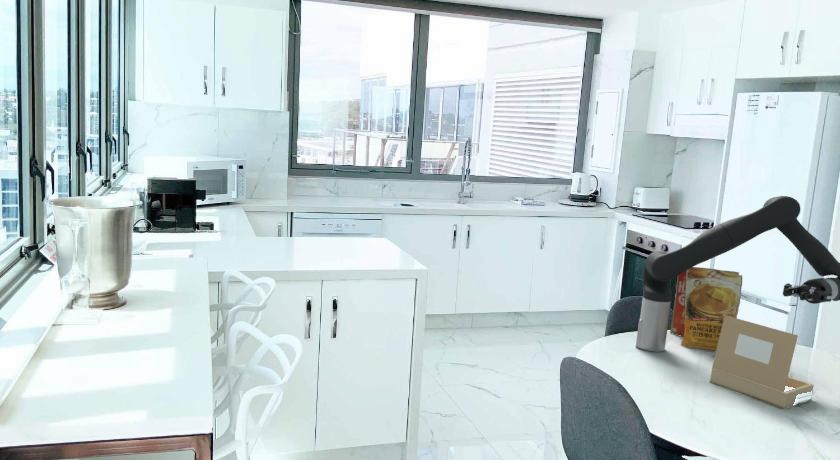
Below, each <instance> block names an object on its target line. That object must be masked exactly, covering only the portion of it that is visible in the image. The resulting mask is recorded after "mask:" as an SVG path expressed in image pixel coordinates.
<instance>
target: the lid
mask: <svg viewBox="0 0 840 460" xmlns="http://www.w3.org/2000/svg"><path fill="white" fill-rule="evenodd" d="M798 338H799V335H798V334H794V333H790V332H787V331H784V330H779V329H776V328H773V327H769V326H765V325H762V324H758V323H754V322H750V321H747V320H744V319H741V318H738V317H737V318H734V317H730V316H726V315H725V316H724V320H723V325H722V329H721V333H720V337H719V341H718V345H717V349H716V352H715V355H714V358H713V361H712V366H711V369H712V368H715V369H718V370H720V371H723V372H726V373H729V374H732V375H735V376H738V377H741V378H743V379H746V380H749V381H752V382H755V383H758V384H761V385H764V386H767V387H769V388H772V389H775V390H778V391H781V392H784V390H785V386H786V382H787V378H788V376H789V374H790V370H791V365H792V361H793V357H794V354H795V348H796V345H797V340H798Z"/></svg>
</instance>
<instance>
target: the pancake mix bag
mask: <svg viewBox="0 0 840 460" xmlns="http://www.w3.org/2000/svg"><path fill="white" fill-rule="evenodd" d="M742 286H743V275H742V274H740V272H739V271H732V270H722V269H718V268H717V269H716V268H708V267H700V266H699V267H697V266H694V267H692V268H690V269H688V270H687V271H686V292H685V307H686V312H685V322H684V323H685V331H684V337H683V336H682V340H681V343H680V346H684V347H687V348H688V349H689V348H691V349H695V350H702V351H709V352H715V353H716V349H717V345H718V341H719V337H720V332H721V326H722V325H723V320H724V316H725V315H726V316H730V317H734V318H737V319H738V315H739V314H738V313H739V309H740V308H739V307H740V304H741V295H742Z"/></svg>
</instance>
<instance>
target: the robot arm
mask: <svg viewBox="0 0 840 460" xmlns="http://www.w3.org/2000/svg"><path fill="white" fill-rule="evenodd" d="M800 213H801V204H800V203H799V201H798V200H797V199H795V198H794V197H793V196H787V195H779V196H774V197H771V198H769V199H767V200H765V202H764V204H763V205H762V207H761V208H759V209H757V210H756V211H753V212H750V213H747V214H745V215H741V216H738V217H734V218H731V219H729V220H726V221H723V222H720V223H718V224H717V225H714V226H712V227H711V228H708V229H706V230H705V231H703V232H702V233H701V234H700V235H698V236H696V237H695V238H694V239H693V240H692V241H691V242H690V243H688V244H686V245H685V246H683V247H681V248H679V249H676V250H673V251H670V252H668V253H667V252H666V251H662V250H656V251H652V252H651V253H649V255H648V256H647V258H646V259H645V263H644V268H643V269H644V270H643V278H642V291H643V292H642V299H641V300H642V301H641V309H640V315H639V321H638V325H637V335H636V341H635V348H639V349H642V350H643V351H644V350H645V351H649V352H655V353H656V352H658V353H659V352H660V353H661V352H665V350H666V343H667V336H668V335H667V334H668V330H669V329H668V327H669V319H670V314H671V306H672V298H673V291H672V288H671V281H672V280H673V279H675V278H677V277H678V275H680V274H682V273H683V272H685V271H687V270H688V269H690V268H692V267H696V266H697V265H700V264H702V263H705V262H707V261H709V260H711V259H714V258H716V257H718V256H721V255H724V254H725V253H727V252H729V251H731V250H733V249H736V248H738V247H739V246H742V245H744V244H745V243H747V242H749V241H752V240H753V239H754V238H756V237H758V236H759V235H762V234H764V233H765V232H768V231H771V230H773V229H777V230H778V231H779V232H780V233H782V234H783V236H785V238H786V239H788V241H790V243H791V244H792V245H793V246H794V247H795V248H796V250H797V251H798V252H799V253H800V254H801V255H802V256H803V258H804V259H805V260H806V262H807V263H808V264H809V265H810V266H811V267H812V268H813V270H814V271H815V272H816V274H818V276H820V277H819V278H811V279H807V280H806V281H804V282H803V283H802V284H801V285H800V284H799V285H794V286H793V285H792V284H791V283H786V284H784V285H783V291H782V295H783V297H786V298H787V297H795V298H799V301H806V302H808V303H809V304H816V305H818V304H822V303H826V302H827V303H830V302H832V301H834V302H838V301H840V262H839V261H838V260H837V258H835V256H834V255H833V254H832V253H831V252H830V250H829V249H828V248H827V246H825V244H823V243H822V242H821V241H820V240H819V239H817V238H816V237H815V236H814V235H812V233H811V232H809V231H808V230H807V228H805V227H804V226H803V224H802V223H800V221H799V219H798V217H799V215H800ZM827 276H836V277H827Z"/></svg>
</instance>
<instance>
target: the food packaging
mask: <svg viewBox="0 0 840 460" xmlns="http://www.w3.org/2000/svg"><path fill="white" fill-rule="evenodd" d="M675 285H676V286H675V295H674V300H673V301H674V302H673V308H672V315H671V322H670V331H669V334H672V333H673V334H672V335H675V334H677V336H679V335H681V336H680V337H683V336H684V331H685V323H684V322H685V312H686V307H685V292H686V271H685V272H683V273H682V274H680V275H678V276H677V277H676V284H675Z"/></svg>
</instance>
